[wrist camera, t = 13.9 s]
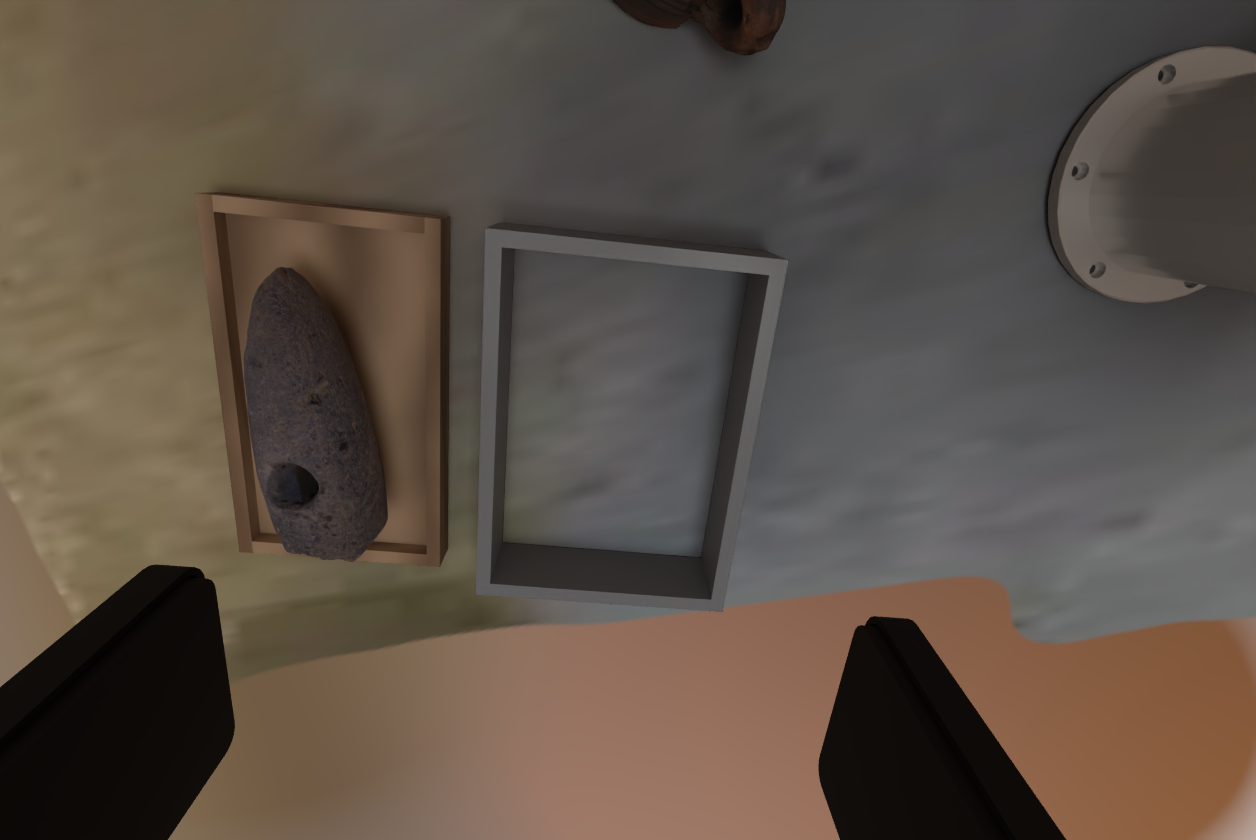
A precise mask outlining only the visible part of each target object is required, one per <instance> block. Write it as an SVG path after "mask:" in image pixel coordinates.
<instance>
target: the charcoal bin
mask: <svg viewBox="0 0 1256 840" xmlns="http://www.w3.org/2000/svg"><path fill="white" fill-rule="evenodd" d="M515 249H523V250H533V251H542V252H552V253H562V254H571V255H581V256H590V257H600V258H609V259H619V260H629V261H638V262H648V263H657V264H667V265H676V266H686V267H696V268H705V269H715V270H724V271H734V272H743V273H749V275H748V281H747V287H746V293H745V299H744V305H743V311H742V317H741V323H740V329H739V335H738V341H737V347H736V353H735V359H734V365H733V371H732V377H731V382H730V388H729V394H728V400H727V406H726V412H725V418H724V424H723V430H722V436H721V442H720V448H719V454H718V460H717V466H716V472H715V478H714V484H713V490H712V496H711V502H710V508H709V514H708V520H707V526H706V532H705V537H704V543H703V549H702V555H701V558H697V557H684V556H671V555H658V554H645V553H631V552H618V551H605V550H592V549H579V548H566V547H553V546H540V545H527V544H514V543H503V519H504V495H505V470H506V446H507V422H508V398H509V374H510V350H511V326H512V301H513V277H514V253H515ZM787 266H788V260H787V259H784V258H782V257H780V256H777V255H775V254H773V253H770V252H768V251H762V250H753V249H743V248H734V247H725V246H715V245H706V244H696V243H687V242H678V241H668V240H659V239H650V238H640V237H631V236H622V235H612V234H603V233H594V232H584V231H575V230H565V229H556V228H547V227H537V226H528V225H519V224H509V223H498V224H495V225H492V226H490V227H487V228H485V257H484V296H483V336H482V375H481V414H480V453H479V492H478V531H477V571H476V594H478V595H492V596H506V597H520V598H534V599H548V600H562V601H576V602H590V603H604V604H618V605H632V606H646V607H660V608H674V609H688V610H702V611H716V612H723V606H724V601H725V596H726V591H727V585H728V580H729V575H730V569H731V564H732V559H733V553H734V548H735V543H736V537H737V532H738V527H739V521H740V516H741V511H742V505H743V500H744V495H745V489H746V484H747V479H748V473H749V468H750V463H751V457H752V452H753V447H754V441H755V436H756V431H757V425H758V420H759V415H760V409H761V404H762V399H763V393H764V388H765V383H766V377H767V372H768V367H769V361H770V356H771V351H772V345H773V340H774V335H775V330H776V324H777V319H778V314H779V308H780V303H781V298H782V292H783V287H784V282H785V276H786V271H787Z"/></svg>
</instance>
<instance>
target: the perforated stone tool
mask: <svg viewBox="0 0 1256 840" xmlns="http://www.w3.org/2000/svg"><path fill="white" fill-rule="evenodd" d="M244 381H245V390H246V397H247V413H248V421H249V429H250V436H251V443H252V449H253V455H254V460H255V465H256V472H257V477H258V480H259V484H260V488H261V491H262V493H263V496H264V499H265V502H266V505H267V508H268V512H269V515H270V518H271V521H272V524H273V526H274V529H275V531H276V533H277V534H278V535H279V537H280V539H281V541H282V544H283V546H284V549H285V550H286V551H287V552H288V553H291V554H299V555H301V554H305V555H307V556H312V557H315V556H316V557H318V558H320V559H322V560H326V559H328V560H334V559H343V560H345V561H351V562H353V561H355V560H356V559H357V558H359V557H360V556H361V555H362V554H363V553H364V552H365V550H366V549H367V547H368V546H369V545H370V543H373V541H374V539H376V538H377V536H378V535H379V533H380V532H381V531H382V530H383V528H384V526H385V525H386V523H387V519H388V507H387V494H386V484H385V477H384V471H383V463H382V458H381V453H380V449H379V444H378V440H377V435H376V431H375V428H374V424H373V420H372V417H371V413H370V410H369V407H368V403H367V400H366V398H365V395H364V393H363V389H362V385H361V383H360V380H359V378H358V375H357V372H356V369H355V366H354V363H353V361H352V359H351V356H350V353H349V351H348V348H347V346H346V343H345V341H344V338H343V336H342V334H341V332H340V330H339V327H338V325H337V323H336V321H335V320H334V318H333V316H332V314H331V313H330V311H329V309H328V307H327V306H326V304H325V303H324V301H323V300H322V298H321V297H320V295H319V294H318V293H317V291H316V290H315V289H314V288H313V286H312V285H311V284H310V283H309V282H308V280H307V279H305V278H304V277H303V276H302V275H301V274H299V273H298V272H296V271H295V270H294V269H293V268H285V267H284V268H283V267H280V268H279V267H278V268H277V269H275V270H274V271H273V272H272V273H271V274H270V275H269V276H267V278H266V279H264V280H263V282H262V283H261V285H260V286H259V287H258V289H257V291H256V293H255V295H254V298H253V301H252V307H251V313H250V319H249V325H248V330H247V341H246V348H245V352H244Z"/></svg>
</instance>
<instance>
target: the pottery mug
mask: <svg viewBox="0 0 1256 840" xmlns="http://www.w3.org/2000/svg"><path fill="white" fill-rule="evenodd" d="M613 1H614V2H615V3H617V4H618V5H619V6H620V8H621V9H622V10H624V11H625V12H627V13H629V14H630V15H632V16H633V17H635V18H636V19H638V20H639V21H642V22H644V23H646V24H649V25H654V26H659V27H664V28H677V27H679V26H680V24H681V23H682V22H683V21H686V20H687V19H688V18H690V17H692V16H693V18H694V19H695V20H696V21H697V22H699V23H701V24H702V25H704V26H705V27H706V29H707V30H708V31H709V32H710V33H711V34H712V36H713V37H714V39H715V40H716V41H717V43H718V44H719V45H720V46H721V47H723V48H724V49H725V50H727V51H730V52H734V53H737V54H741V55H752V54H754V53H756V52H759V51H762V50H765V49H767V48H768V47H769V45H770V44H771V42H772V40H773V38H774V36H775V34H776V33H777V32H778V30H779V28H780V26H781V24H782V21H783V19H784V15H785V8H786V0H613Z"/></svg>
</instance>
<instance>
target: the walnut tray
mask: <svg viewBox="0 0 1256 840" xmlns="http://www.w3.org/2000/svg"><path fill="white" fill-rule="evenodd" d="M195 198H196V206H197V214H198V222H199V230H200V238H201V246H202V254H203V262H204V270H205V278H206V286H207V294H208V302H209V310H210V318H211V327H212V335H213V343H214V351H215V359H216V367H217V375H218V383H219V391H220V399H221V407H222V415H223V423H224V431H225V439H226V447H227V455H228V463H229V471H230V479H231V487H232V495H233V503H234V511H235V519H236V527H237V535H238V544H239V552H248V553H262V554H275V555H289V556H302V557H312V556H307V555H305V554H301V555H299V554H291V553H288V552H287V551H286V550H285V549H284V546H283V544H282V541H281V539H280V537H279V535H278V534H277V533H276V531H275V529H274V526H273V524H272V521H271V518H270V515H269V512H268V508H267V505H266V502H265V499H264V496H263V493H262V491H261V488H260V484H259V480H258V477H257V472H256V465H255V460H254V455H253V449H252V443H251V436H250V429H249V421H248V413H247V397H246V390H245V381H244V352H245V348H246V341H247V330H248V325H249V319H250V313H251V307H252V301H253V298H254V295H255V293H256V291H257V289H258V287H259V286H260V285H261V283H262V282H263V280H264V279H266V278H267V276H269V275H270V274H271V273H272V272H273V271H274V270H275V269H277V268H278V267H279V268H280V267H283V268H284V267H285V268H293V269H294V270H295V271H296V272H298V273H299V274H301V275H302V276H303V277H304V278H305V279H307V280H308V282H309V283H310V284H311V285H312V286H313V288H314V289H315V290H316V291H317V293H318V294H319V295H320V297H321V298H322V300H323V301H324V303H325V304H326V306H327V307H328V309H329V311H330V313H331V314H332V316H333V318H334V320H335V321H336V323H337V325H338V327H339V330H340V332H341V334H342V336H343V338H344V341H345V343H346V346H347V348H348V351H349V353H350V356H351V359H352V361H353V363H354V366H355V369H356V372H357V375H358V378H359V380H360V383H361V385H362V389H363V393H364V395H365V398H366V400H367V403H368V407H369V410H370V413H371V417H372V420H373V424H374V428H375V431H376V435H377V440H378V444H379V449H380V453H381V458H382V463H383V471H384V477H385V484H386V494H387V507H388V519H387V523H386V525H385V526H384V528H383V530H382V531H381V532H380V533H379V535H378V536H377V538H376V539H374V541H373V543H370V545H369V546H368V547H367V549H366V550H365V552H364V553H363V554H362V555H361V556H360V557H359V558H357V559H356V561H370V562H384V563H397V564H411V565H424V566H438V567H440V565H441V563H442V561H443V559H444V556H445V554H446V552H447V550H448V430H449V287H450V217H444V216H434V215H425V214H416V213H406V212H397V211H388V210H378V209H369V208H359V207H350V206H341V205H331V204H322V203H313V202H303V201H294V200H285V199H275V198H266V197H257V196H247V195H238V194H228V193H219V192H215V193H195ZM315 557H316V556H315ZM316 558H318V557H316Z"/></svg>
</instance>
